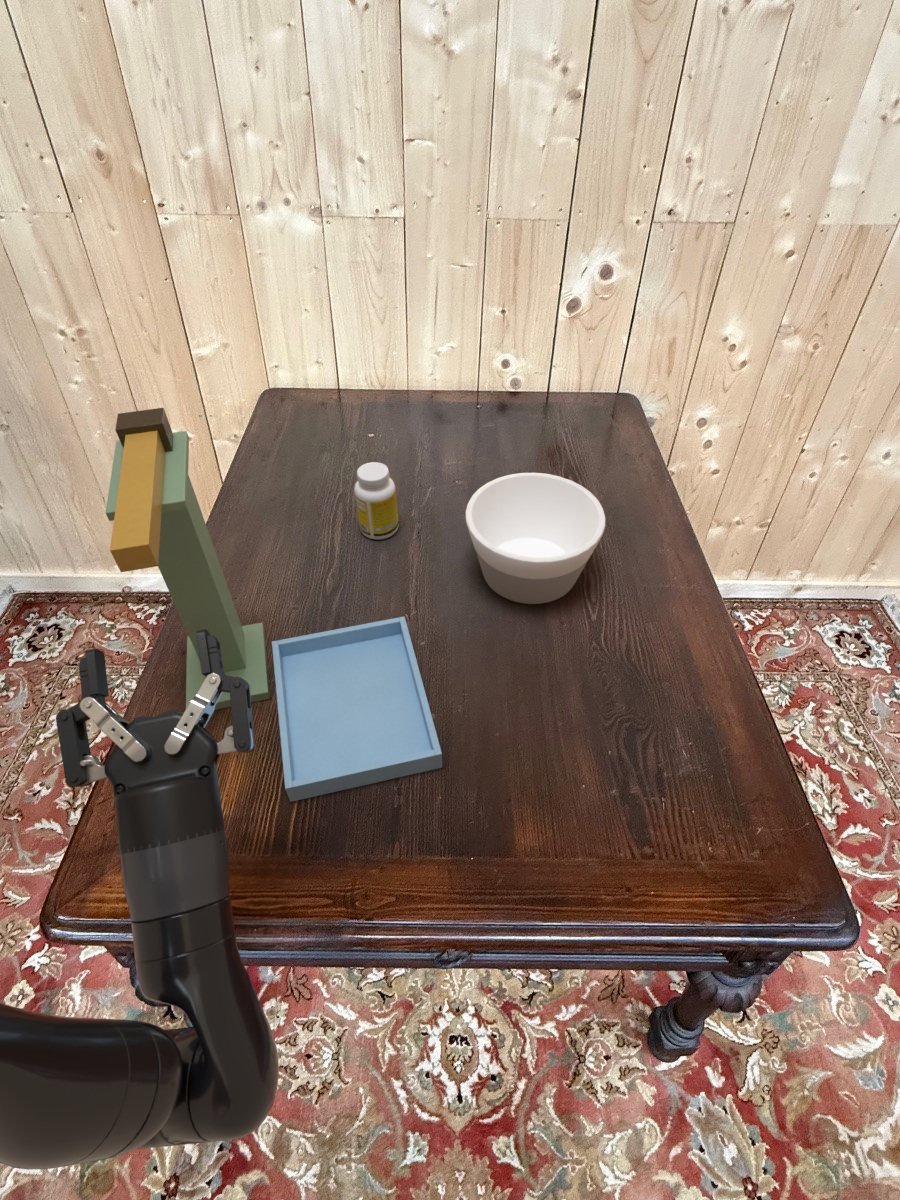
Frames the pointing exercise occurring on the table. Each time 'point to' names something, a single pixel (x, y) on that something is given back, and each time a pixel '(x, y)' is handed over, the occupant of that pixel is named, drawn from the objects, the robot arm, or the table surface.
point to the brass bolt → (140, 488)
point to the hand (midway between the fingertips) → (149, 640)
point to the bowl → (533, 534)
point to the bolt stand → (199, 580)
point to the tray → (352, 709)
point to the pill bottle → (376, 501)
